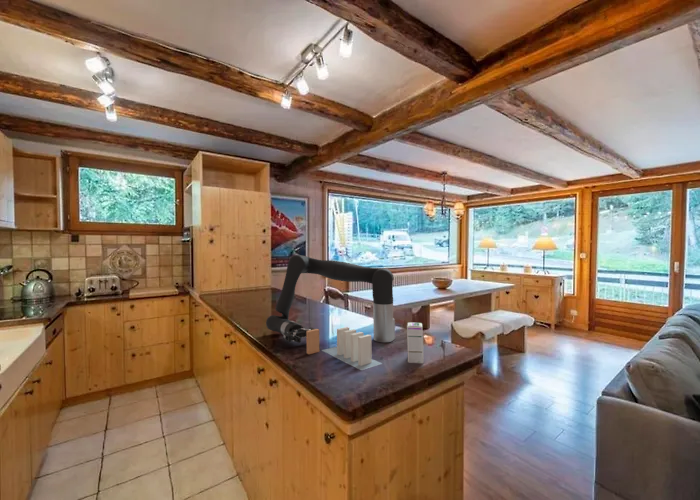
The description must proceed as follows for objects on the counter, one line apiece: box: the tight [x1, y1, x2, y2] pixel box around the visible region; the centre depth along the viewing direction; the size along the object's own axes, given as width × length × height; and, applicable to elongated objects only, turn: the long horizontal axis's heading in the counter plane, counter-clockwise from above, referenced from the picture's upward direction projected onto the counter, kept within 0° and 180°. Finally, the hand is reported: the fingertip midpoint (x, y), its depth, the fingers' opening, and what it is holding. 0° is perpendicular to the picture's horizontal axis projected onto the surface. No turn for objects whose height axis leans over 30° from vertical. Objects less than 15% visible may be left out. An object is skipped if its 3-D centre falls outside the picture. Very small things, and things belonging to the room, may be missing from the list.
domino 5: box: [358, 334, 373, 366], centre depth 110 cm, size 5×2×10 cm, turn 127°
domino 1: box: [306, 328, 320, 355], centre depth 123 cm, size 5×2×10 cm, turn 127°
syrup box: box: [406, 321, 424, 364], centre depth 113 cm, size 6×6×14 cm
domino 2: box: [336, 326, 350, 355], centre depth 121 cm, size 5×2×10 cm, turn 127°
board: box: [321, 346, 383, 371], centre depth 118 cm, size 10×26×1 cm, turn 37°
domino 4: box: [351, 331, 365, 362], centre depth 114 cm, size 5×2×10 cm, turn 127°
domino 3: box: [344, 328, 357, 359], centre depth 118 cm, size 5×2×10 cm, turn 127°
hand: (309, 338), depth 125 cm, fingers open, 8 cm apart
